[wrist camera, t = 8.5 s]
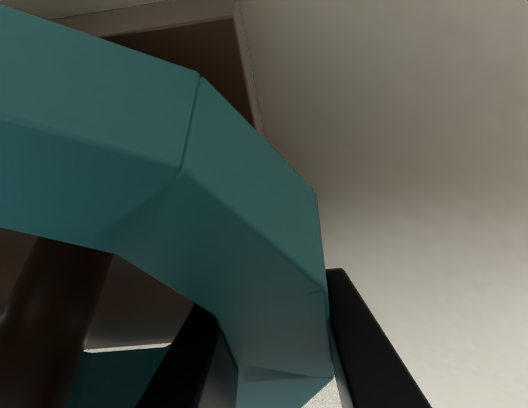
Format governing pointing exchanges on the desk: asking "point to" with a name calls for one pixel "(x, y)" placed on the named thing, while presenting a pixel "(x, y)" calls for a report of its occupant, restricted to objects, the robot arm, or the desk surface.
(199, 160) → the ring
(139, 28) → the stand
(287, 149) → the desk surface
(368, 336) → the robot arm
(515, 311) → the desk surface
